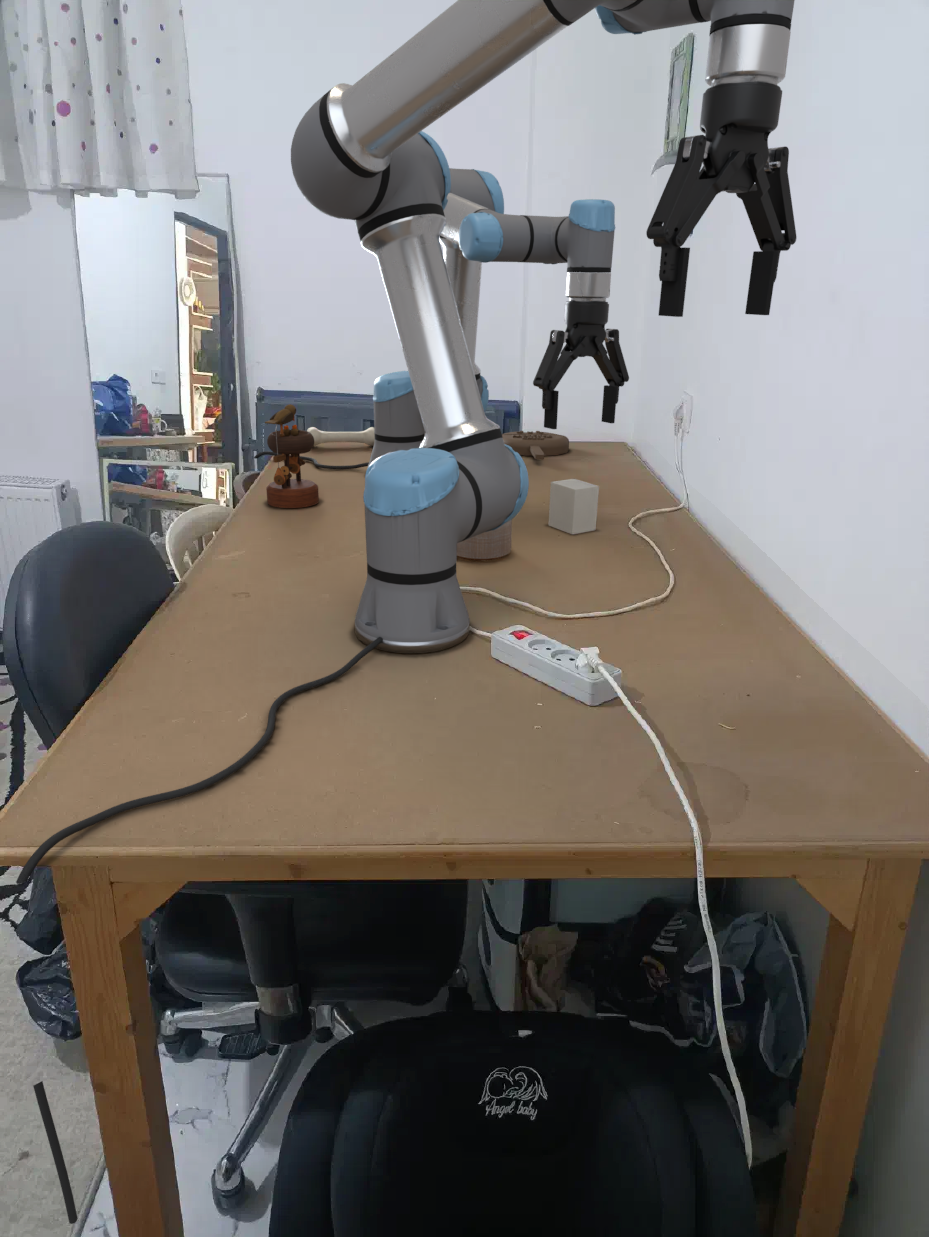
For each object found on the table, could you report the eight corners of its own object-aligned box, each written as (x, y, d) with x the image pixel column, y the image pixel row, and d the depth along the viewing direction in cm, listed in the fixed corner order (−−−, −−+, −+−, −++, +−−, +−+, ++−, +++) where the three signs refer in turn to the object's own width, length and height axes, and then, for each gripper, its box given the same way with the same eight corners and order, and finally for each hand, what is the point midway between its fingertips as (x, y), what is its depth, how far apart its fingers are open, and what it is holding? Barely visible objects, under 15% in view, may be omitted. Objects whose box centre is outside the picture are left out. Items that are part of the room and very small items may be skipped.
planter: (440, 545, 148) (440, 491, 144) (498, 541, 151) (500, 488, 148) (458, 564, 139) (459, 507, 135) (520, 559, 142) (522, 503, 138)
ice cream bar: (498, 464, 211) (498, 448, 209) (490, 443, 237) (490, 428, 235) (581, 465, 212) (583, 448, 210) (564, 444, 238) (565, 429, 236)
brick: (571, 521, 165) (574, 478, 161) (595, 530, 159) (599, 486, 156) (548, 525, 162) (550, 481, 158) (572, 534, 156) (575, 489, 153)
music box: (311, 511, 168) (297, 408, 160) (258, 513, 169) (241, 411, 162) (331, 492, 182) (318, 397, 174) (282, 494, 183) (267, 400, 176)
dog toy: (379, 443, 235) (378, 424, 233) (380, 447, 230) (380, 428, 228) (305, 444, 232) (304, 425, 230) (305, 448, 226) (304, 429, 225)
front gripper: (792, 106, 92) (762, 312, 100) (622, 76, 80) (604, 315, 88) (853, 96, 87) (817, 315, 95) (681, 61, 74) (657, 318, 82)
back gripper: (625, 299, 154) (616, 417, 162) (515, 299, 142) (511, 427, 150) (655, 300, 149) (644, 422, 156) (543, 300, 136) (537, 433, 144)
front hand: (715, 315), depth 91 cm, fingers open, 13 cm apart
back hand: (579, 425), depth 153 cm, fingers open, 13 cm apart
